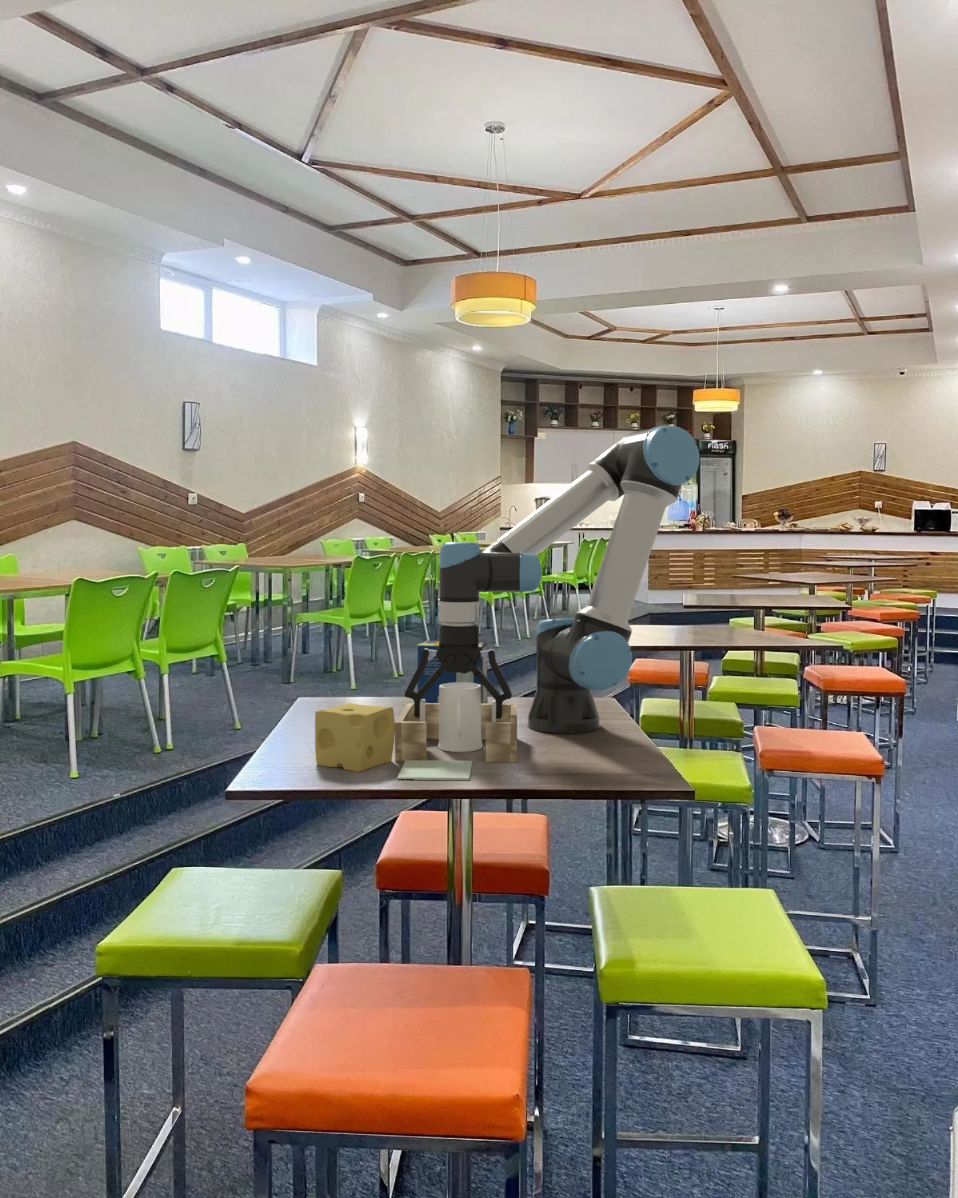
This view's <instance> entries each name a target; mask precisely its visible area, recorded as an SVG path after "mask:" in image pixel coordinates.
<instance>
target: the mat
mask: <svg viewBox="0 0 958 1198" xmlns="http://www.w3.org/2000/svg"><path fill="white" fill-rule="evenodd" d="M403 762H404V763H403V765H402V767H401V769H400V771H399V772H398V775H397V777H396V779H405V780H406V779H414V780H415V781H417V780H418V781H470V777H471V773H472V772H471V771H472V767H473V760H428V759H427V760H405V761H403ZM406 781H407V780H406Z"/></svg>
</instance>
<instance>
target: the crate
mask: <svg viewBox="0 0 958 1198" xmlns="http://www.w3.org/2000/svg"><path fill="white" fill-rule="evenodd" d="M427 740H439V703H425V722H420V717H415V716H414V702H407V703H406V704H405V706H404V707H403V709H402V710H401V712H400V713H399V716H398V717H397V718H396V720H395V736H394V761H395V762H405V760H428V757H427V755H428V754H427V753H428V752H427V751H428V750H427V746H428V745H427ZM481 740H485V763H486V762H487V763H517V762H518V703H502V717H501V719H496V722H492V703H488V704H481Z"/></svg>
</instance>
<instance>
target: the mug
mask: <svg viewBox="0 0 958 1198" xmlns="http://www.w3.org/2000/svg"><path fill="white" fill-rule="evenodd" d="M437 748H438V749H439V750H441V751H445V752H449V751H450V753H469V752H476V751H479V750H481V749H482V748H483V741H482V739H481V685H479V684H476V683H466V682H455V683H445V684H441V685H439V739H438V744H437Z"/></svg>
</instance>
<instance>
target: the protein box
mask: <svg viewBox="0 0 958 1198" xmlns="http://www.w3.org/2000/svg"><path fill="white" fill-rule="evenodd" d="M416 648H417V650H416V651H417V652H416V659H417V660H416V664H417V666H416V669H417V668H418V666H419V664H420V662H421V658H422V651H423V650H424V649H425V648H428V649H429V650H438V648H439V640H428V639H427V640H424V641H422V642H421V643H418V644H416ZM479 649H480V651H487V650H488V642H487V641H486V640H479ZM476 664H477V666H478V667H479V668H480V670H481V671H482V672H483V673H484V675H485V676H486V677H487V678H488V662H486V661H485V659H484V658H483V657H480V659H479V660H478V662H477V663H476ZM440 665H441V662H440V661H439V660H438V658H437V656H434V657H433V659H432V660H431V661H428V663H427V665H426V667H425V669H424V671H423V673H422V675H421V677H420V679H419V681H418V683H417V685H416V687H417V688H416V692H418V691H419V690H420V689H421V687H422V686H423V685H424V684H425V683H426V682H427V681H428V679H429V678H430V677H431V676H432V675H433V674H434V673H435V671H436V670H437V669H438V668H439V667H440ZM455 682H466V683H476V684H479V685H481V704H489V702H488V690H487V689H486V688H485V687H484V686H483V684H482V683H481V682H480V681H479V680H478V678H477V677H476V676H475V675H474V674H473V673H472V672H471V671H470V672H468V673H459V672H457V673H450V672H448V671H446V670H445V671H444V673H443V674H442V675H441V676H440V677H439V678H438V679H437V680H436V682H435V683H434V684H433V685H432V686H431V687H430V689H429V690H428V691H427V692H426V693H425V694H424V695H423V697H422V698H421V699H425V703H439V685H441V684H445V683H455Z"/></svg>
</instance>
